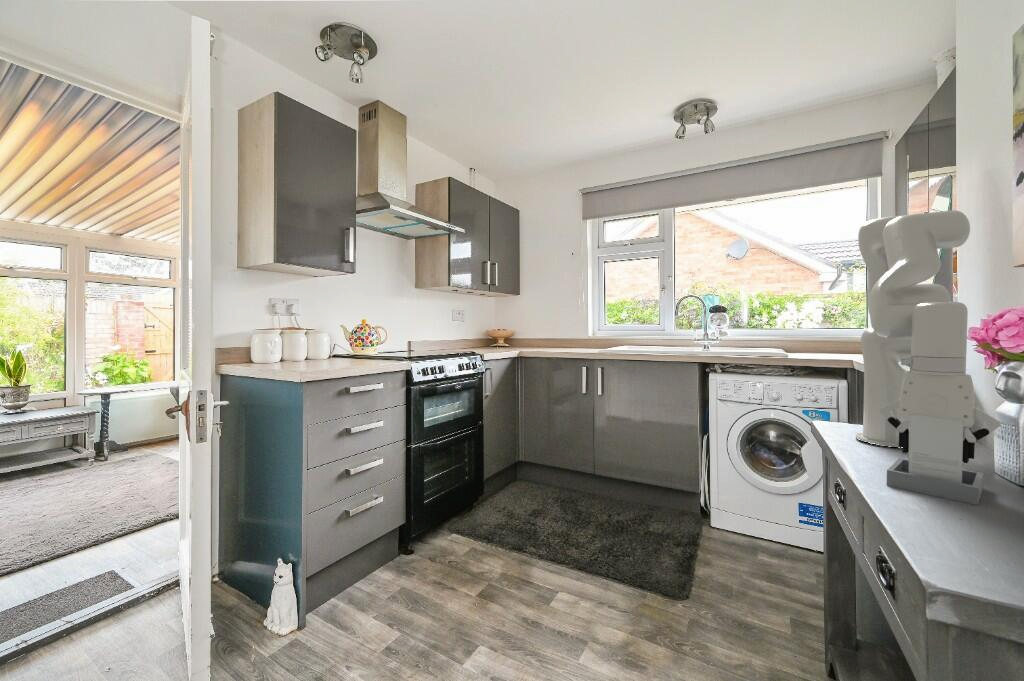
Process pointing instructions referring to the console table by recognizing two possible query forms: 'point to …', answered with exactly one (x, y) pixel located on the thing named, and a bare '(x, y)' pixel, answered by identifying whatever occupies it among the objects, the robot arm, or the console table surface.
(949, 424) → the supplement box
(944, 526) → the console table surface
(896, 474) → the holder tray
